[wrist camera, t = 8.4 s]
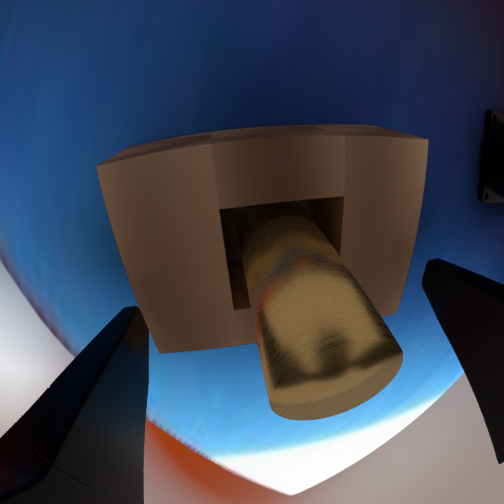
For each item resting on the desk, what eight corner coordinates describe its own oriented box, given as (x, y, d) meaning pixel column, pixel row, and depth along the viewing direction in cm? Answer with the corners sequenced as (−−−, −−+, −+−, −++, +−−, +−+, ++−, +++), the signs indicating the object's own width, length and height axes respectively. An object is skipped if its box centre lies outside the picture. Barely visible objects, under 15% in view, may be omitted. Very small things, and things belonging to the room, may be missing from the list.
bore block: (374, 125, 11) (428, 139, 8) (362, 268, 15) (396, 312, 12) (131, 145, 11) (96, 166, 7) (168, 296, 15) (159, 353, 11)
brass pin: (305, 186, 11) (420, 323, 4) (304, 249, 13) (382, 400, 6) (232, 194, 11) (266, 360, 4) (239, 258, 13) (271, 429, 6)
